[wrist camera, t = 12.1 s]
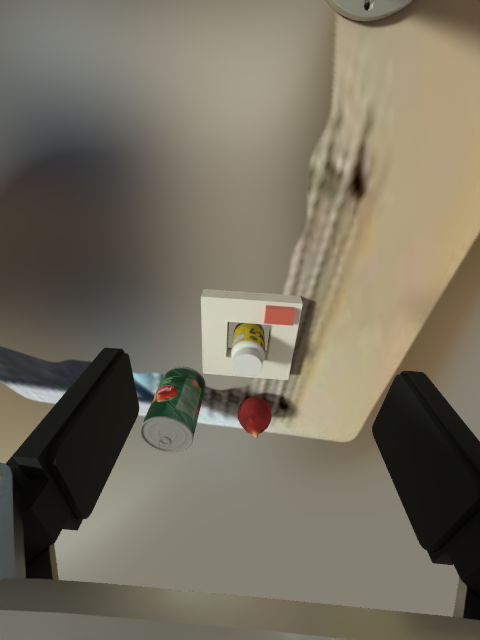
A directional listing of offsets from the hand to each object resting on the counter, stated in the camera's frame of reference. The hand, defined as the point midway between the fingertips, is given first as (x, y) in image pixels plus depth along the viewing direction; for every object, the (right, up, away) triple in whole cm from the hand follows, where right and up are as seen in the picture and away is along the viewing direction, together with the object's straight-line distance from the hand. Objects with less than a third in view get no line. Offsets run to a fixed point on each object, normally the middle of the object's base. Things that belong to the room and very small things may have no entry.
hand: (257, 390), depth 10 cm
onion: (+2, -12, +40) cm, 42 cm away
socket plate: (+1, +1, +33) cm, 33 cm away
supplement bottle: (+1, +1, +33) cm, 33 cm away
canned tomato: (-11, -9, +39) cm, 41 cm away
